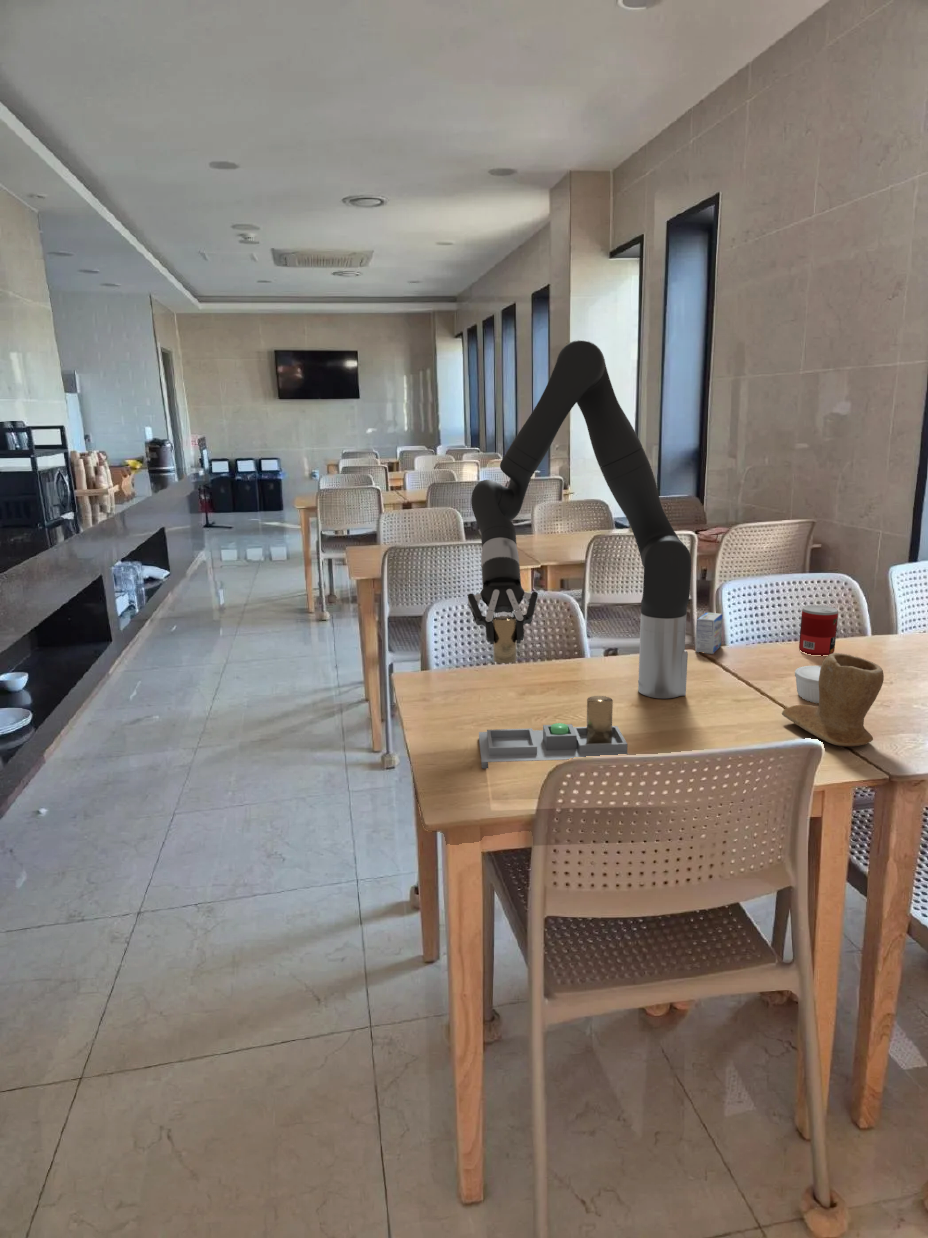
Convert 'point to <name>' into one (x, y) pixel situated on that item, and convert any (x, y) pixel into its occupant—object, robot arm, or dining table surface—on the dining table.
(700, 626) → the medicine box
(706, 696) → the dining table surface
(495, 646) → the cylinder
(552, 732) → the button
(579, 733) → the grey socket tray
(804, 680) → the ramekin
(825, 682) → the tan hollow curved piece
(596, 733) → the seated billet
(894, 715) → the dining table surface
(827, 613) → the canned food
